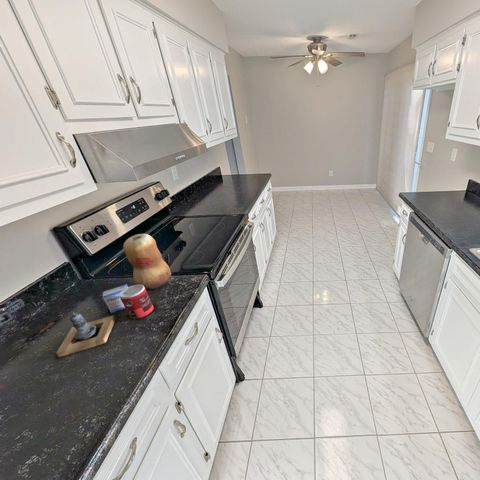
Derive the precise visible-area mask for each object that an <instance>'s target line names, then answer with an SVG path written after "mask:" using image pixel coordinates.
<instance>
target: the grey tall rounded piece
mask: <svg viewBox="0 0 480 480" xmlns="http://www.w3.org/2000/svg"><path fill="white" fill-rule="evenodd" d="M69 321H70V322H71V323H72V327H75V328H76V330H77V332H76V333H75V334H74V338H77V341H78V340H79V341H84V340H87V339H90V338H94V337H95V334H96V333H97V328H96V326H95V325H88V324H87V323H88V322H87V319H86V318H84V317H83V315H82V314H81V313H79V312H77V313H75V312H72V313H71V316H70V317H69Z"/></svg>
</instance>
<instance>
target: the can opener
mask: <svg viewBox="0 0 480 480" xmlns="http://www.w3.org/2000/svg"><path fill="white" fill-rule="evenodd" d="M55 323H56V322H55V321H51V322H50V323H48V324H47V325H46V326H45V327H43V328H42V329H41V330H40V331H39V332H38V333H37V334H36V335H34V336H33V337H30V338H29V341H32V339H34V338H38V337H39V336H40V335H41V334H42V333H44V332H45V331H46V330H47V329H49V328H50V327H52V326H53V325H54V324H55Z"/></svg>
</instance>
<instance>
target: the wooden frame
mask: <svg viewBox="0 0 480 480" xmlns="http://www.w3.org/2000/svg"><path fill="white" fill-rule="evenodd" d="M116 320H117V318H116V316H115V315H114V314H113V315H110V316H105V317H102V318H99V319H95V320H92V321H88V322H87V324H88V325H95V326H96V329H99V328H100V329H99V331H98V333H97V335H96V336H93V337H92V338H90V339H87V340H79V341H78V339H77V338H74V334H75V333H76V332H77V330H76V328H75V327H73V326H72V327H71V328H70V330H69V332H68V333H67V335H66V336H65V338H64V340H63V341H62V342H61V344H60V346H59V348H58V349H57V351H56V352H55V355H57V357H58V358H61V357H65V356H68V355H71V354H73V353H77V352H80V351H81V352H82V351H84V350H88V349H91V348H94V347H97V346H101V345H103V344H106V343H107V341H108V338H109V336H110V334H111V332H112V330H113V327H114V325H115V322H116Z"/></svg>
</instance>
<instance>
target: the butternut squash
mask: <svg viewBox="0 0 480 480" xmlns="http://www.w3.org/2000/svg"><path fill="white" fill-rule="evenodd" d="M122 247H123V248H122V249H123V251H124V254H125V256H126V259H127V260H128V262H129V264H130V265H131V266H132V268H133V274H132V275H133V276H132V278H133V281H134V283H135V285H143V286H144V287H145V289H146V290H155V289H158V288H161V287H162V286H163V285H165V284H166V283H167V282H169V281H170V278H171V277H172V273H171V268H170V266H169V265H168V264H167V262H166V261H165V260H164V258H163V256H162V253H161V252H160V250H159V248H158V246H157V241H156V239H154V238H153V237H152V236H151V235H149V234H147V233H137V234H134V235H132V236H130V237H128V238H127V239H125V242H124V243H123V246H122Z"/></svg>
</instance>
